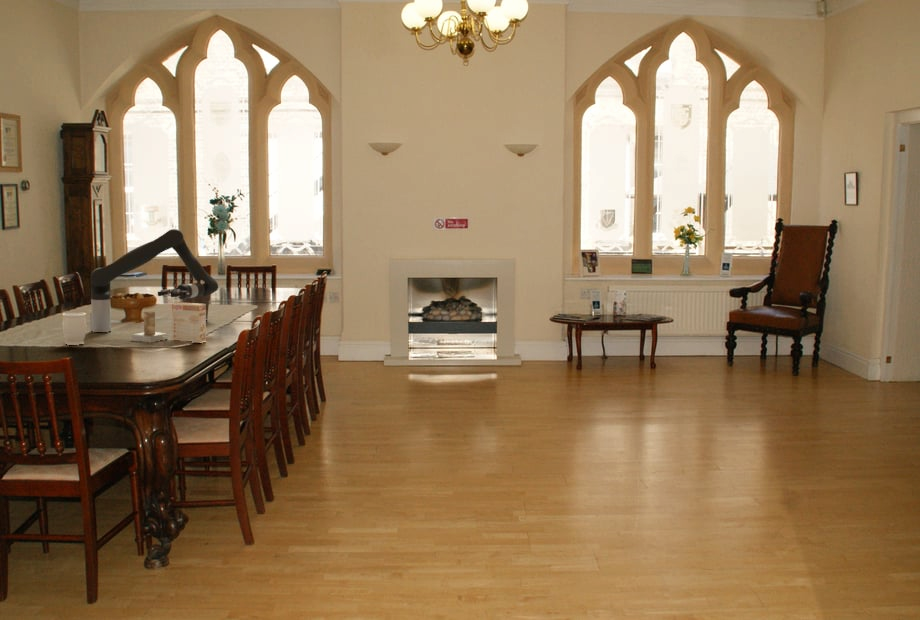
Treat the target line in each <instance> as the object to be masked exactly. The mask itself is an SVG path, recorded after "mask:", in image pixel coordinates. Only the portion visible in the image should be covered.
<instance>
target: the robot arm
mask: <svg viewBox="0 0 920 620" xmlns="http://www.w3.org/2000/svg"><path fill="white" fill-rule="evenodd" d="M169 249H172V250H174V251H175V253H176V254H177V255H178V256H179V258H180V259H181V261H182V262H183V264H184V266H185V267H186V269H187V270H188V272H189V274H190V275H191V277H192V278H193V279H194V281H196V282H195V283H185V284H179V285H177V286H176V288H171V289H170V288H168V289H161V290H160V291H157V297H164V296H167V297H171V298H176V297H177V298H178V299H179V300H183V299H187V298H193V297H197V296H201V297H206V296H209V295H210V296H211V295H212V294H214V293H215V292H216V291H218V290H219V283H218V281H217V280H216V279H215V278H214V277H212V276H211V275H210V274H209V273H208V272H207V271H206V270H205V269H204V267H203V266H202V264H201V263H200V261H199V260H198V259H197V257H195V255H194V254H193V253H192V251H191V249H189V246H188V244H187V243H186V241H185V238H184V234H183V233H182V231H181V230H179V229H177V228H172V229H169V230H168V231H166V232H164V233H163V234H162V235H160V236H159V237H157V238H155V239H154V240H151V241H149V242H147V243H144V244H142V245H140V246H138V247H136V248H134V249H131V250H129V251H128V252H126V253H125V254H123V255H122V256H120V257H119V258H118V259H117V260H115V261H114V262H112V263H110V264H108V265H106V266H103V267H97V268H95V269H93V270H92V272H91V274H90V303H91V305H90V306H91V311H90V312H91V313H89V325H90V326H89V327H90V328H89V329H90V330H89V331H90V332H91V331H93V332H92V333H94V332H107V333H109V332H108V331H112V328H111V327H112V323H111V320H112V319H111V317H112V315H111V309H112V308H111V282H112V281H113V280H115V279H117V278H118V277H120V276H122V275H124V274H126V273H129V272H132V271H134V270H136V269H137V268H140V267H141V266H143V265H145V264H148V263H149V262H150V261H152V260H153V259H154V258H156V257H157V256H159V255H160V254H161V253H163V252H166V251H167V250H169ZM198 281H203V283H200V282H198Z"/></svg>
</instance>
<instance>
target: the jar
mask: <svg viewBox="0 0 920 620" xmlns="http://www.w3.org/2000/svg"><path fill="white" fill-rule="evenodd" d="M61 316H62V323H61V324H62V327H61V328H62V332H63V333H62V334H63V337H64V339H65V344H67V345H66V346H69V345H77V346H80V345H79V344H83V345H85V342H84V340H85V337H86V332H87V320H86V316H87V312H81V311H76V312H75V311H73V312H71V311H70V312H64V313H62V314H61ZM65 344H64V345H65Z"/></svg>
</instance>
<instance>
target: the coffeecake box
mask: <svg viewBox="0 0 920 620" xmlns="http://www.w3.org/2000/svg"><path fill="white" fill-rule="evenodd" d="M171 304H172V305H171V307H172V308H171V311H172V313H171V314H172V315H171V316H172V317H171V318H172V323H171V325H172V327H171V328H172V330H171V331H172V334H171V336H172V338H171V339H172V341H174V340H180V341H179V342H186V341H193V342H202V341H206V342H207V321H206V304H199V303H184V301H182V302H181V301H179V302H172V303H171Z"/></svg>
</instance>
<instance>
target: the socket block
mask: <svg viewBox="0 0 920 620" xmlns="http://www.w3.org/2000/svg"><path fill="white" fill-rule="evenodd" d="M130 337H131V340H132V342H133V341H134V342H139V341H142V342H141V343H147V342H149V343H150V344H152V343H151V342H153V343H156V342H155V341H158V342H161V341H160V340H163V341H166V340H165V339H169V334H168V333H167V332H160V331H159V332H157V331H155V334H153V335H146V334H144V331H143V332H138V333H133V334H131V336H130ZM131 340H130V341H131Z"/></svg>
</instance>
